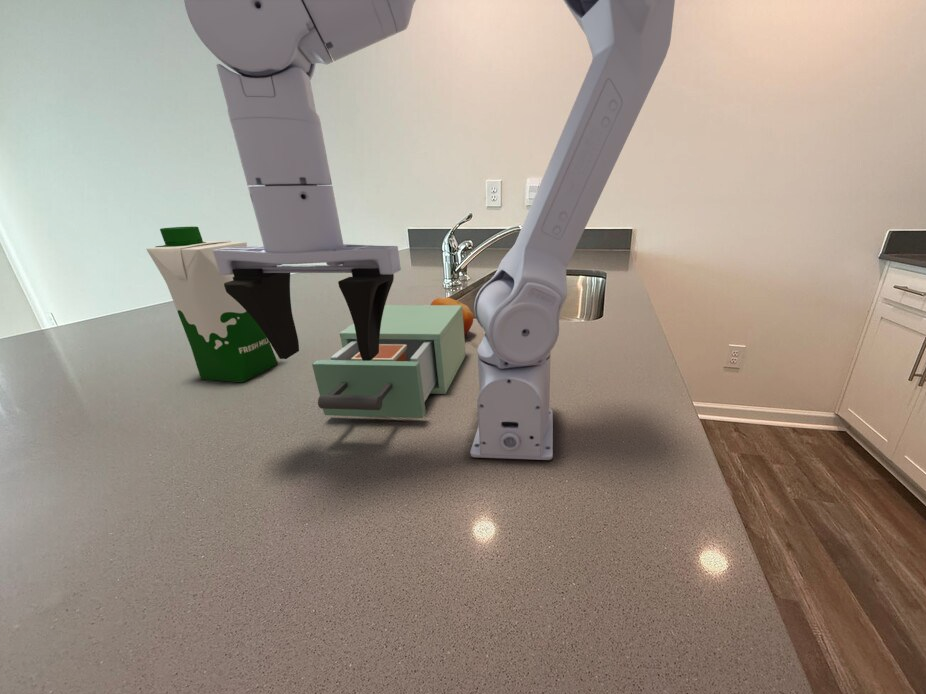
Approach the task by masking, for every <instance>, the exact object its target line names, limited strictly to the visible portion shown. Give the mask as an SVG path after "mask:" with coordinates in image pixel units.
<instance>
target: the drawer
mask: <svg viewBox="0 0 926 694" xmlns="http://www.w3.org/2000/svg"><path fill="white" fill-rule="evenodd" d="M379 344H398V345H407V349H406V350H405V352H406V360H407V361H351V358H352V357H354V356H355V355H356V354H357V353H358V352H359V348H358V343H357V339H354V340H353V341H351V342H350V343H349V344H347V345H346V346H345V347H343V348H341V349H339V350H338V351H336V352H335V353H334V354H332V355H331V356H330V359H317V360H315V361H313V363H311V367H312V370H313V374H314V378H315V382H316V386H317V390H318V394H319V396H318V399H317V405H318V408H319V409H322V410H323V415H324V416H331V417H332V416H335V417H336V416H337V417H338V416H339V417H367V418H368V417H369V418H371V417H372V418H373V417H374V418H406V419H410V418H411V419H423V418H424V417H425V415H426V413H427V411H426V405H425V402H426V400H427V399H428V397H429V395H431V394H430V392H431V390H432V389H433V387H434V386H435V384H436V382H437V381H438V374H437V365H436V356H435V347H434V340H398V339H379Z"/></svg>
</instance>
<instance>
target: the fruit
mask: <svg viewBox="0 0 926 694" xmlns="http://www.w3.org/2000/svg"><path fill="white" fill-rule="evenodd" d="M430 305H462V311H463V324H464V337H466V336H467V334H469V332H470V330H471V328H472V326H473V323H474V319H475V314H474V313H473V312H472V311H471V310H470V309H471V308H470V307H469V306H468V305H467V304H464V303H462V302H461V301H459V300H456V299H453V298H451V297H448V296H447V297H437V298H434V300H432V301H431V302H430Z"/></svg>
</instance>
